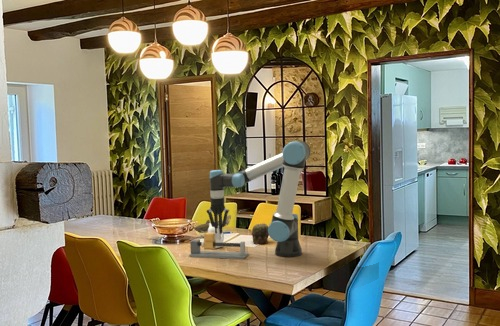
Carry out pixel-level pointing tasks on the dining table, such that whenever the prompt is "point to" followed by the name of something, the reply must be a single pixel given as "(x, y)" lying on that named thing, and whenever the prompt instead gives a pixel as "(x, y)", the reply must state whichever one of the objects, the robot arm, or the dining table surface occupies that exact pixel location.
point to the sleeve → (209, 241)
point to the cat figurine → (212, 230)
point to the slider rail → (217, 254)
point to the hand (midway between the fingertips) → (219, 239)
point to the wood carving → (204, 227)
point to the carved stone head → (260, 234)
